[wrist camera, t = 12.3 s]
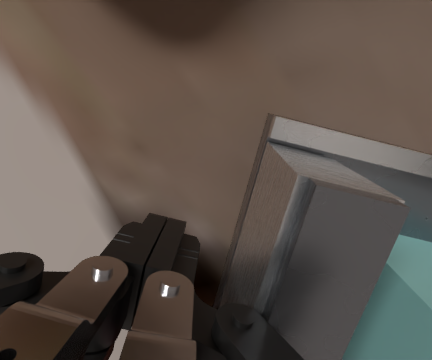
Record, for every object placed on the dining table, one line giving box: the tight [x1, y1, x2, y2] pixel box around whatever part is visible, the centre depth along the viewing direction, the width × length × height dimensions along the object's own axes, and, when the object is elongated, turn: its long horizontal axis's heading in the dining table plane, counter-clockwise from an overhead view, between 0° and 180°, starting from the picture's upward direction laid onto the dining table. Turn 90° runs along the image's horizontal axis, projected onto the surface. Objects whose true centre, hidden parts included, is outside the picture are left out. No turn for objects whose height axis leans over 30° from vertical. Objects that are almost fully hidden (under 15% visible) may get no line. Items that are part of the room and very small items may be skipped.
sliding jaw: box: [218, 142, 411, 360], centre depth 10 cm, size 2×9×6 cm, turn 166°
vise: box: [213, 113, 432, 360], centre depth 11 cm, size 15×11×6 cm
